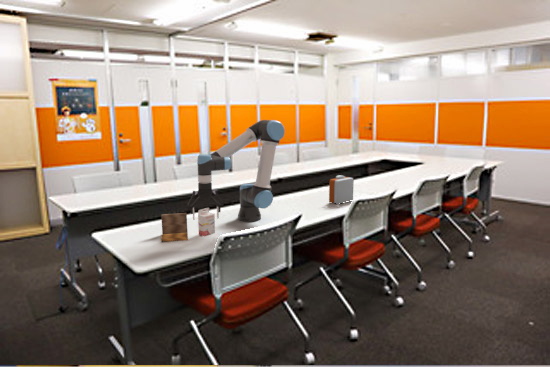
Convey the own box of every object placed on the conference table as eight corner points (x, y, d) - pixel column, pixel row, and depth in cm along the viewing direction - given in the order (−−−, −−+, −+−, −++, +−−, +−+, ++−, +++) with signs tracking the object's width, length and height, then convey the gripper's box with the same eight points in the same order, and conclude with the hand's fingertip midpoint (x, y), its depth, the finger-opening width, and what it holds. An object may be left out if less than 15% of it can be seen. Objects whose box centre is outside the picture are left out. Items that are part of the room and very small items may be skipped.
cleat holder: (187, 232, 228) (186, 212, 226) (187, 240, 216) (186, 219, 213) (162, 234, 225) (161, 214, 223) (161, 242, 212) (160, 221, 210)
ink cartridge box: (204, 236, 222) (203, 211, 219) (198, 234, 225) (197, 210, 222) (215, 232, 228) (214, 208, 225) (209, 231, 231) (208, 207, 228)
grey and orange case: (344, 199, 307) (345, 173, 303) (353, 201, 301) (354, 175, 297) (328, 203, 296) (329, 176, 292) (337, 205, 289) (338, 178, 285)
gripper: (226, 180, 227) (226, 215, 231) (182, 181, 221) (183, 217, 225) (227, 182, 220) (228, 219, 224) (182, 184, 214) (183, 221, 218)
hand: (205, 218), depth 224 cm, fingers open, 13 cm apart
